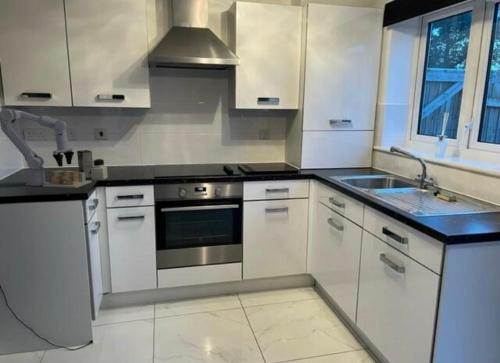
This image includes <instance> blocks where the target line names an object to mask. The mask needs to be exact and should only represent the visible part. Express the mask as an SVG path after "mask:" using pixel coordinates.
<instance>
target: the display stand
mask: <svg viewBox="0 0 500 363" xmlns="http://www.w3.org/2000/svg"><path fill="white" fill-rule="evenodd" d="M78 179H79V180H76V181H54V180H51V181H50V182H49V183H47V184H44V185H42V187H43V188H61V189H62V188H63V189H65V188H67V189H68V188H69V189H77V188H79V187H82V186H85V185H89V184H91V183H92V180H86V177H85V172H79V171H78Z"/></svg>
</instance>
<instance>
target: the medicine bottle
mask: <svg viewBox="0 0 500 363" xmlns="http://www.w3.org/2000/svg"><path fill="white" fill-rule="evenodd" d="M92 160H93V159H92ZM91 175H92V176H91V181H104V180H106V179H108V177H109V176H108V167H107V165H106V166H105V162H104V159H102V158H99V159H98V158H96V159H94V160H93V168H91Z"/></svg>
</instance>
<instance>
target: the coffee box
mask: <svg viewBox="0 0 500 363" xmlns="http://www.w3.org/2000/svg"><path fill="white" fill-rule="evenodd" d="M76 154H77V155H76V156H77V163H78V172H85V178H90V177H91V178H92V175H91V168H93V167H94V166H93V151H92V150H88V149H84V150H83V149H82V150H76Z"/></svg>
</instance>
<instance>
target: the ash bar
mask: <svg viewBox="0 0 500 363" xmlns="http://www.w3.org/2000/svg"><path fill="white" fill-rule="evenodd" d="M78 172H79V170H51V171H50V179H51V181H52V180H54V181H76V180H79V179H78Z"/></svg>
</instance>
